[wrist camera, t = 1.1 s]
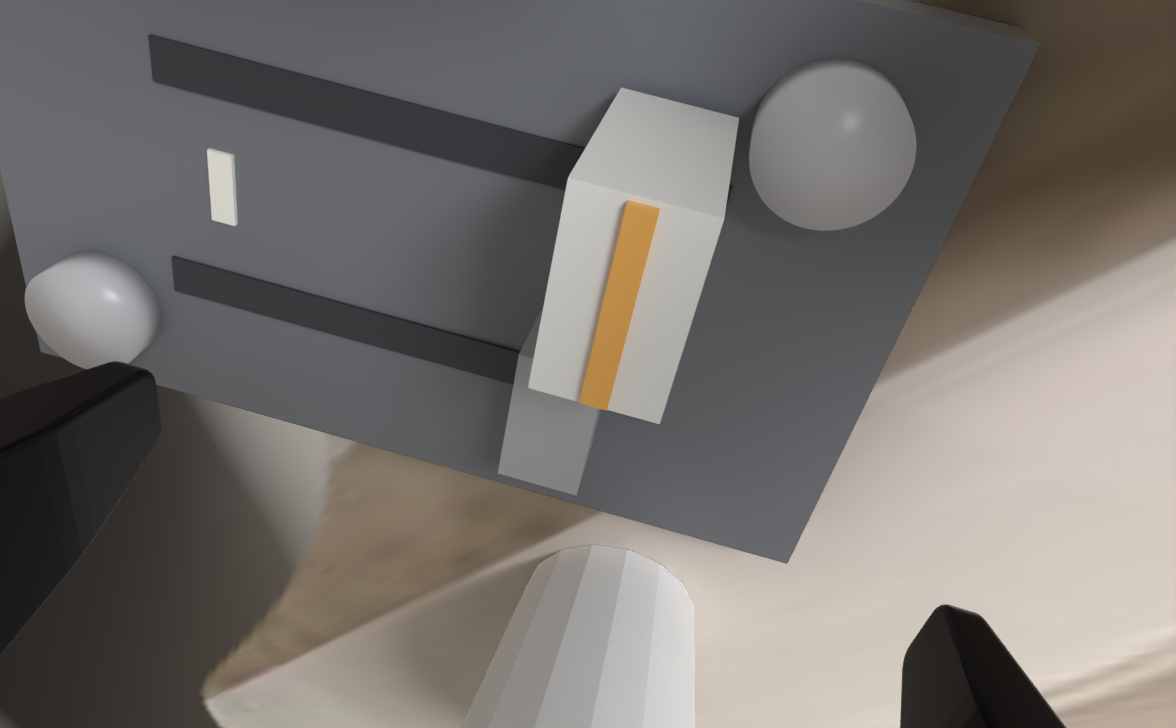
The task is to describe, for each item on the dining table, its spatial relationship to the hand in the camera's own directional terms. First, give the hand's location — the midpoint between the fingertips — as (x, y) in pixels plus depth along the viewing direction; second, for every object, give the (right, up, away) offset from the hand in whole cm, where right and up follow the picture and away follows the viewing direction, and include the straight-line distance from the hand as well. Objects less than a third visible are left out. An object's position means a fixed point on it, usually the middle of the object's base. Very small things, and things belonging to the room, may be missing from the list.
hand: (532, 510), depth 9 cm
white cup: (+1, -6, +19) cm, 20 cm away
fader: (+2, +5, +8) cm, 10 cm away
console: (-3, +5, +12) cm, 13 cm away
